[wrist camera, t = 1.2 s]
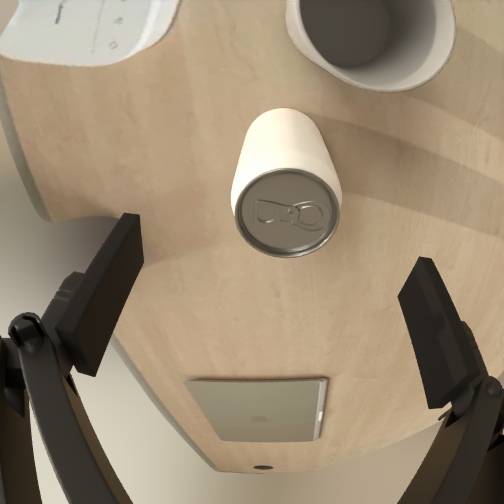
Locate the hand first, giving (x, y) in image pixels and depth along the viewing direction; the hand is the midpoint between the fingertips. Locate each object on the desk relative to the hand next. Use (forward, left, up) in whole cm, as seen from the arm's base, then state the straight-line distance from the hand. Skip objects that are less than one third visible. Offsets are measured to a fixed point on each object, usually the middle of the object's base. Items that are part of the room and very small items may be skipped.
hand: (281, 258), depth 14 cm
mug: (-12, +1, -16) cm, 20 cm away
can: (0, 0, -16) cm, 16 cm away
